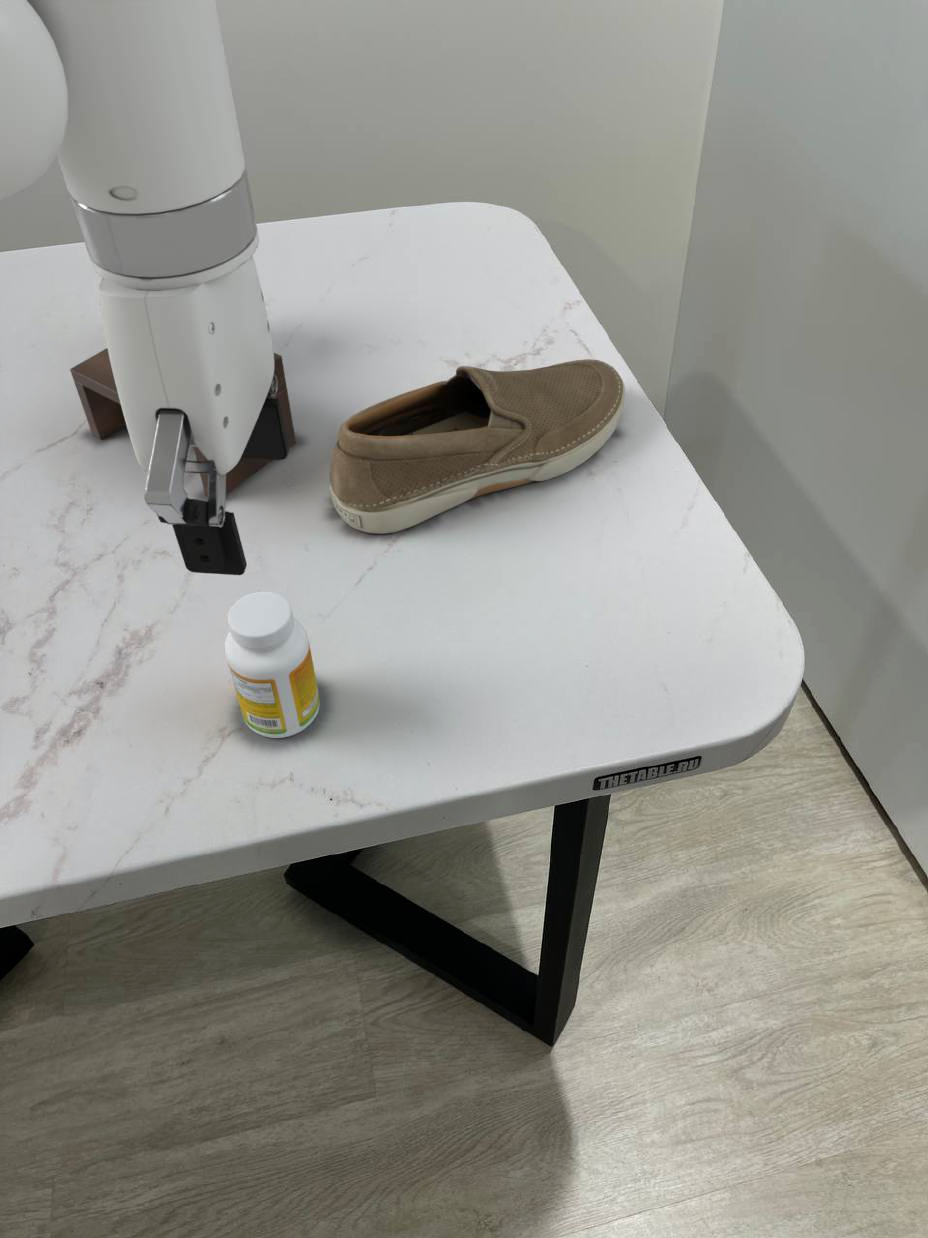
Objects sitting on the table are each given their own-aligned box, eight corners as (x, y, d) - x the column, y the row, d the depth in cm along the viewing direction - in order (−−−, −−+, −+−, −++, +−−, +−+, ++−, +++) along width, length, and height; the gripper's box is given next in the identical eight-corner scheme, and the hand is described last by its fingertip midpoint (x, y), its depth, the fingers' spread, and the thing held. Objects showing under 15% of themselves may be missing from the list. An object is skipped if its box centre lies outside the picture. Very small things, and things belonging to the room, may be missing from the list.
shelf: (215, 501, 86) (193, 413, 79) (92, 435, 92) (62, 348, 86) (296, 442, 91) (281, 355, 85) (174, 384, 98) (152, 299, 91)
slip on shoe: (585, 378, 98) (592, 293, 91) (658, 438, 91) (671, 351, 85) (306, 481, 88) (292, 393, 81) (365, 556, 81) (355, 467, 74)
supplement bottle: (305, 669, 73) (286, 572, 66) (331, 723, 70) (315, 626, 62) (232, 695, 71) (205, 599, 64) (256, 751, 68) (230, 656, 61)
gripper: (149, 134, 51) (219, 415, 64) (6, 318, 39) (126, 617, 52) (295, 137, 50) (336, 421, 63) (193, 325, 39) (269, 627, 51)
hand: (241, 509), depth 57 cm, fingers open, 9 cm apart
